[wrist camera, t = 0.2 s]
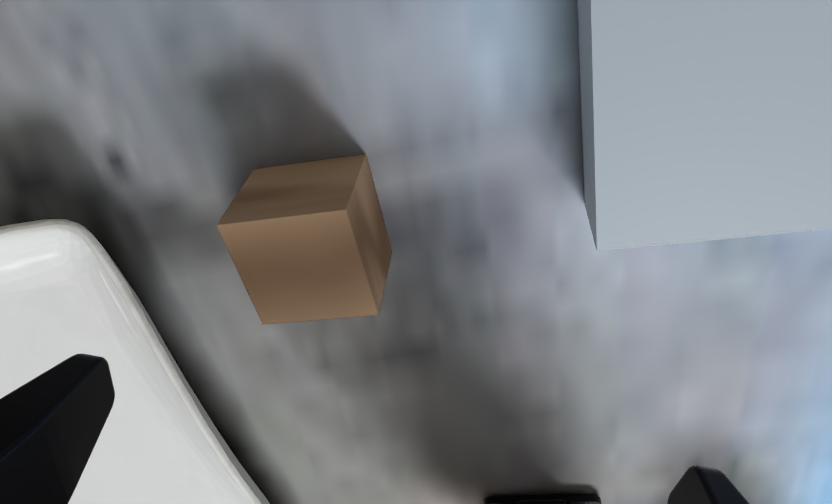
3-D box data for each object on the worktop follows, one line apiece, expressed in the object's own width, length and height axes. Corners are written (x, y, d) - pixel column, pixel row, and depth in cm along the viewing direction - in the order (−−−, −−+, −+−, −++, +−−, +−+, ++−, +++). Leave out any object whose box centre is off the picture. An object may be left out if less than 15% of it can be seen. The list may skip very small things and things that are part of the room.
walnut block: (392, 249, 24) (378, 314, 21) (291, 260, 25) (262, 324, 22) (366, 152, 22) (345, 209, 19) (254, 168, 23) (216, 225, 19)
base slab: (885, 170, 20) (940, 217, 18) (584, 204, 22) (597, 251, 20) (989, -187, 14) (1090, -189, 12) (573, -100, 16) (588, -86, 14)
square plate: (-352, 249, 29) (-453, 301, 26) (128, 168, 24) (72, 221, 20) (-12, 537, 44) (-50, 592, 41) (328, 530, 39) (314, 592, 36)
